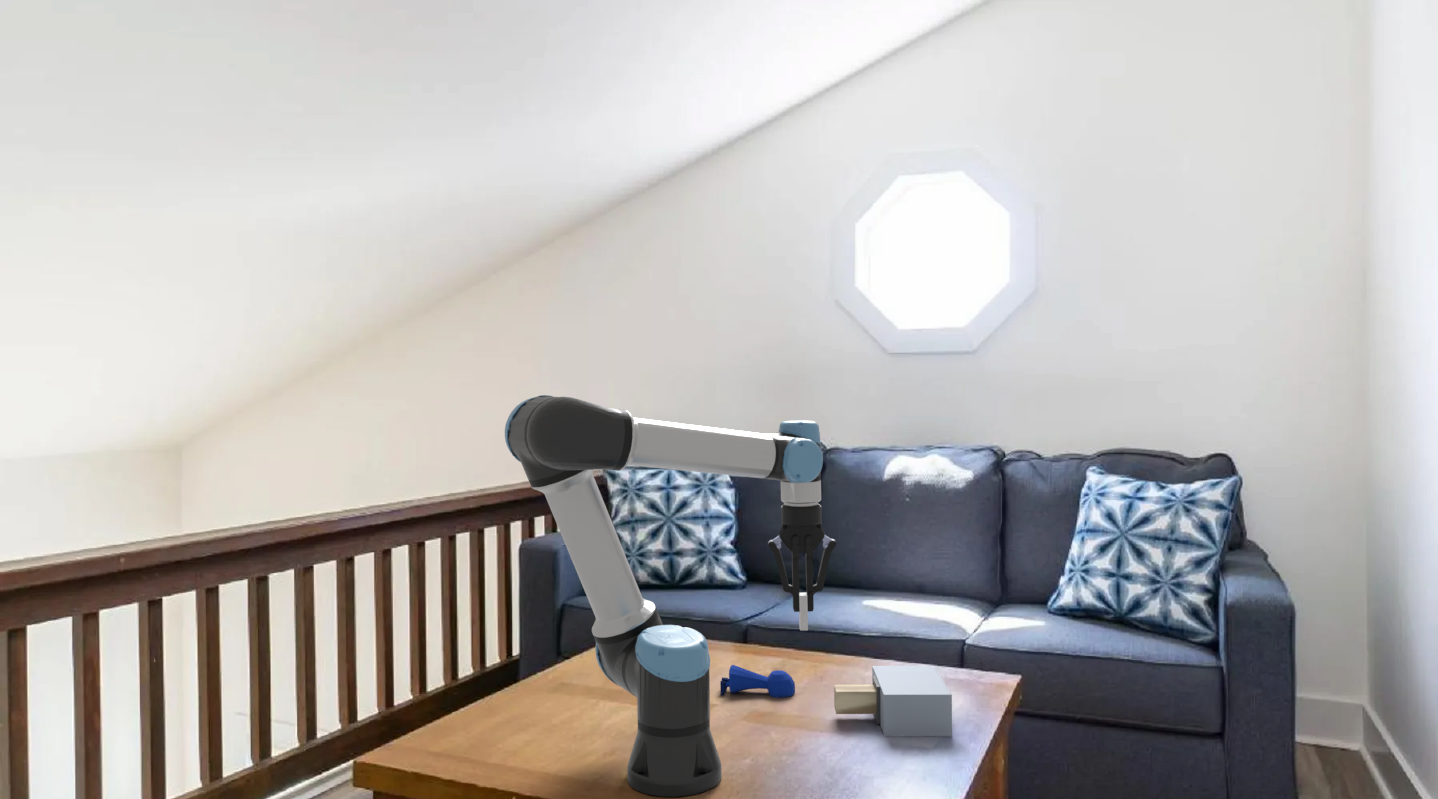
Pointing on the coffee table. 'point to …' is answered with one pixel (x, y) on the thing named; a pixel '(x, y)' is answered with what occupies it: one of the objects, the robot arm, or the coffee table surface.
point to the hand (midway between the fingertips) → (803, 628)
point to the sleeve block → (912, 701)
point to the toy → (758, 682)
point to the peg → (855, 699)
